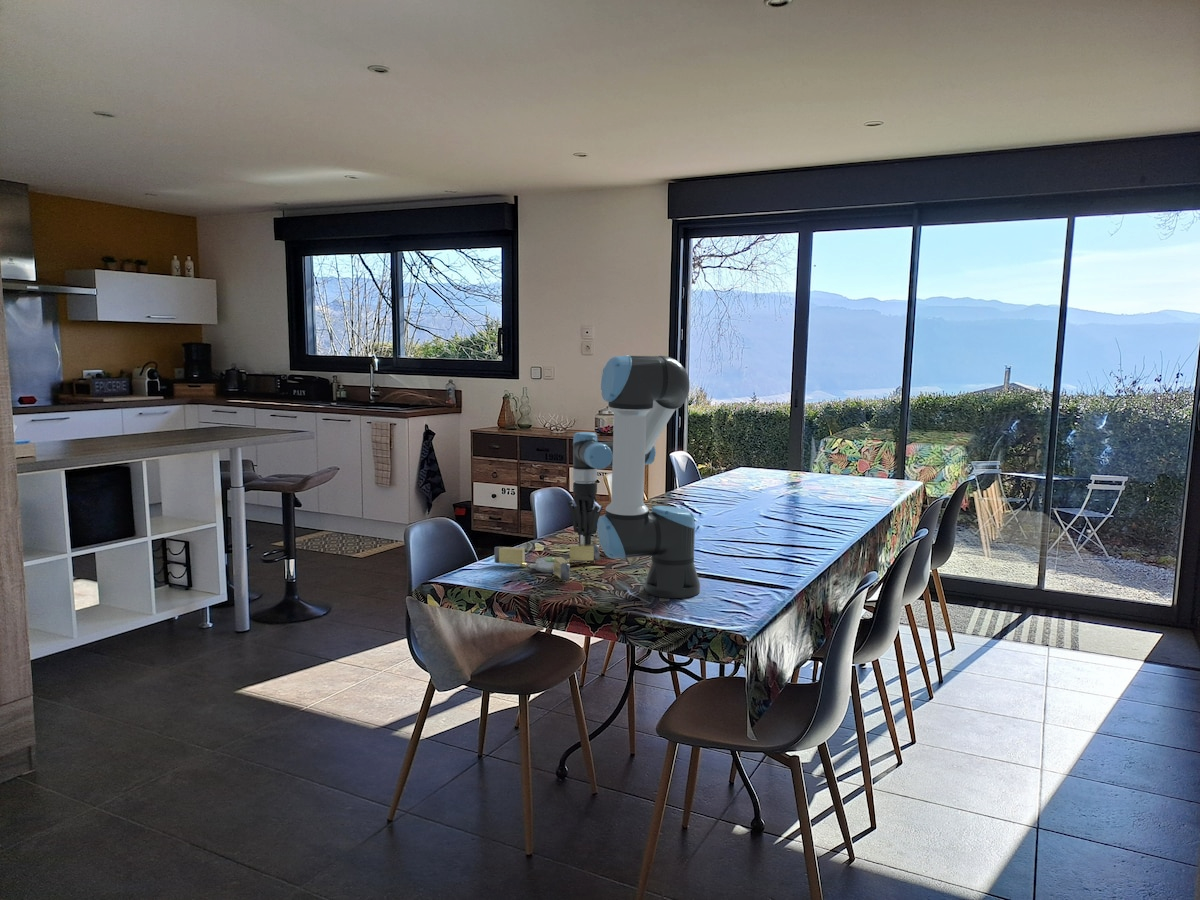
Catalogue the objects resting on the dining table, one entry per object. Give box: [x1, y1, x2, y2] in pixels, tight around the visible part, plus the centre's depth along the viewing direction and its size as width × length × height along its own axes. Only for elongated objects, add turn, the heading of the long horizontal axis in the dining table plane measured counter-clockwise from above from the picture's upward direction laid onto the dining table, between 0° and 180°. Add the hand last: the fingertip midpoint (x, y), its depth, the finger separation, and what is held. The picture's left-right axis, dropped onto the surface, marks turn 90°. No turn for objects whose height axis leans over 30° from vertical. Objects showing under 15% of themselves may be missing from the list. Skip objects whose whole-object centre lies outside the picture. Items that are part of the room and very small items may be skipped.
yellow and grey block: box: [494, 546, 528, 568], centre depth 245 cm, size 10×3×6 cm, turn 78°
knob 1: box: [553, 556, 571, 581], centre depth 231 cm, size 10×3×6 cm, turn 18°
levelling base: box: [529, 556, 555, 575], centre depth 243 cm, size 12×11×3 cm
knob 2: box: [566, 544, 600, 564], centre depth 249 cm, size 10×3×6 cm, turn 91°
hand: (584, 555), depth 252 cm, fingers closed
